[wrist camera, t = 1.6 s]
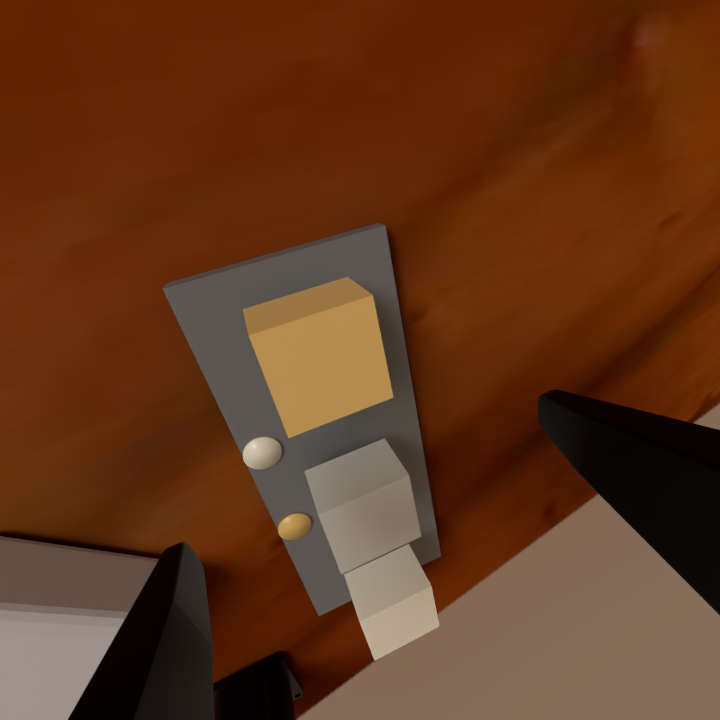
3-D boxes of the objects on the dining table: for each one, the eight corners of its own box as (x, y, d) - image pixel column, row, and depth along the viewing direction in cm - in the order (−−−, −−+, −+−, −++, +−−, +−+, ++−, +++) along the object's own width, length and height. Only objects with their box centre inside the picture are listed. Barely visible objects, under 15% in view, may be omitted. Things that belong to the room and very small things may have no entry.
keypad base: (434, 545, 30) (442, 558, 29) (315, 603, 29) (319, 618, 27) (377, 222, 19) (387, 225, 18) (165, 283, 17) (162, 290, 16)
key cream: (417, 583, 27) (439, 626, 24) (358, 613, 26) (374, 660, 24) (408, 543, 25) (431, 585, 22) (343, 574, 24) (359, 621, 21)
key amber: (368, 367, 18) (393, 397, 16) (277, 400, 17) (288, 438, 15) (347, 276, 16) (372, 295, 14) (242, 309, 15) (248, 335, 13)
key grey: (397, 496, 23) (421, 536, 20) (325, 527, 22) (341, 574, 19) (384, 438, 20) (409, 475, 18) (304, 471, 20) (318, 515, 17)
